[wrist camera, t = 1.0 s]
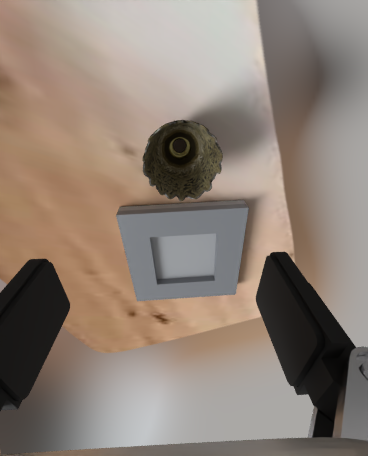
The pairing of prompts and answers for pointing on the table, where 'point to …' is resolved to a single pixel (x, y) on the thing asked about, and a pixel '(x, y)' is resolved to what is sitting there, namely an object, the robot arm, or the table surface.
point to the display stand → (183, 248)
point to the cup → (182, 160)
